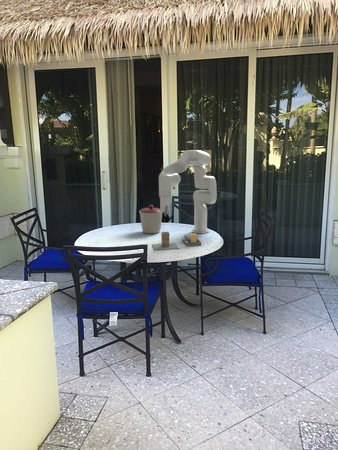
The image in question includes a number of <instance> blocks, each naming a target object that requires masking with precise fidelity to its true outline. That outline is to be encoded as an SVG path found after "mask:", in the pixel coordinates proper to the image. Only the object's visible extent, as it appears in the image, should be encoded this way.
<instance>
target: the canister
mask: <svg viewBox="0 0 338 450" xmlns="http://www.w3.org/2000/svg"><path fill="white" fill-rule="evenodd" d="M138 212H139V216H140V224H141V229H142V232H143V233H144V234H148V235H149V234H151V235H152V234H158V233H160V231H161V228H162V220H163V219H162V212H161V211H160V208H159V207H154V205H153V204H149V205H148V207H143V208H141V209H140V210H139V211H138Z"/></svg>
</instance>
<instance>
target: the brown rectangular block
mask: <svg viewBox="0 0 338 450" xmlns="http://www.w3.org/2000/svg"><path fill="white" fill-rule="evenodd" d="M160 233H161V244H162V247H169V243H170V232H169V231H161V232H160Z"/></svg>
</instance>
